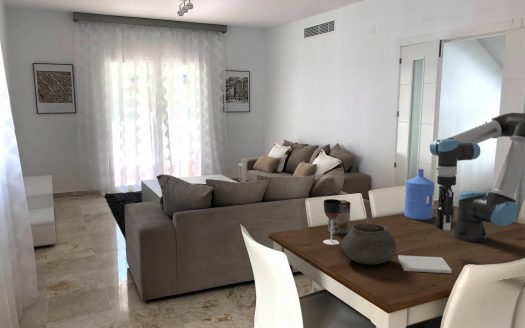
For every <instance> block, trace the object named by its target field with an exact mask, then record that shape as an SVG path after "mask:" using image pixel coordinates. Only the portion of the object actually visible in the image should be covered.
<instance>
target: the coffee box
mask: <svg viewBox="0 0 525 328" xmlns="http://www.w3.org/2000/svg"><path fill="white" fill-rule="evenodd" d="M340 201H341V208H340V213H339V215H338V216H337V217H336V218H334V219H333V227H332V235H339V234H340V233H341V234H348V233H349V232H350V226H351V225H350V224H351V223H350V222H351V219H350V218H351V202H350V201H348V200H346V199H343V200H342V199H341V200H340ZM327 222H328V225H327V231H328V232H329V233H331V219H330V218H328V221H327ZM341 234H340V235H341Z"/></svg>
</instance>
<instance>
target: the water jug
mask: <svg viewBox="0 0 525 328" xmlns="http://www.w3.org/2000/svg"><path fill="white" fill-rule="evenodd" d="M424 170H425V169H422V168H418V169H417V176H415V177H412V178H410V179H407V180H406V181H405V197H404V212H403V214H404V216H405V217H406V218H409V219H412V220H417V221H427V220H431V219H433V217H434V204H433V198H434V195H435V182H434V181H432V180H431V179H428V178H427V177H425V176H424ZM428 197H429V198H428ZM427 199H428V202H427Z"/></svg>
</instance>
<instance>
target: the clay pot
mask: <svg viewBox="0 0 525 328" xmlns="http://www.w3.org/2000/svg"><path fill="white" fill-rule="evenodd" d="M341 249H342V251H343V253H344V254H345V255H346V256H347V257H348V259H350V260H352V261H353V262H356V263H359V264H362V265H380V264H383V263H386V262H388V261H389V260H391V259H392V258H393V257H394V256H395V254H396V252H397V243H396V241H395V239H394V238H393V236H392V235H391V234H390V232H389V230H388V229H387V227H386V226H385V225H382V224H379V223H374V222H358V223H355V224H352V226H351V228H350V229H349V233H346V235H345V236H344V237H343V239H342V242H341Z"/></svg>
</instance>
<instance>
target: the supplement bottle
mask: <svg viewBox="0 0 525 328" xmlns="http://www.w3.org/2000/svg"><path fill="white" fill-rule="evenodd" d="M439 205H440V207H438V206H437V208H436V214H435V215H436V218H435V219H436V221H435V222H436V223H435V227H436V229H437V230H440V231H444V230H443V224H444V215H443V214H445V207H444V201H440V204H439ZM454 212H455V210H454V209H453V215H451V228H450V230H449V231H452V230H454V227H453V226H454V215H455V214H454Z"/></svg>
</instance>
